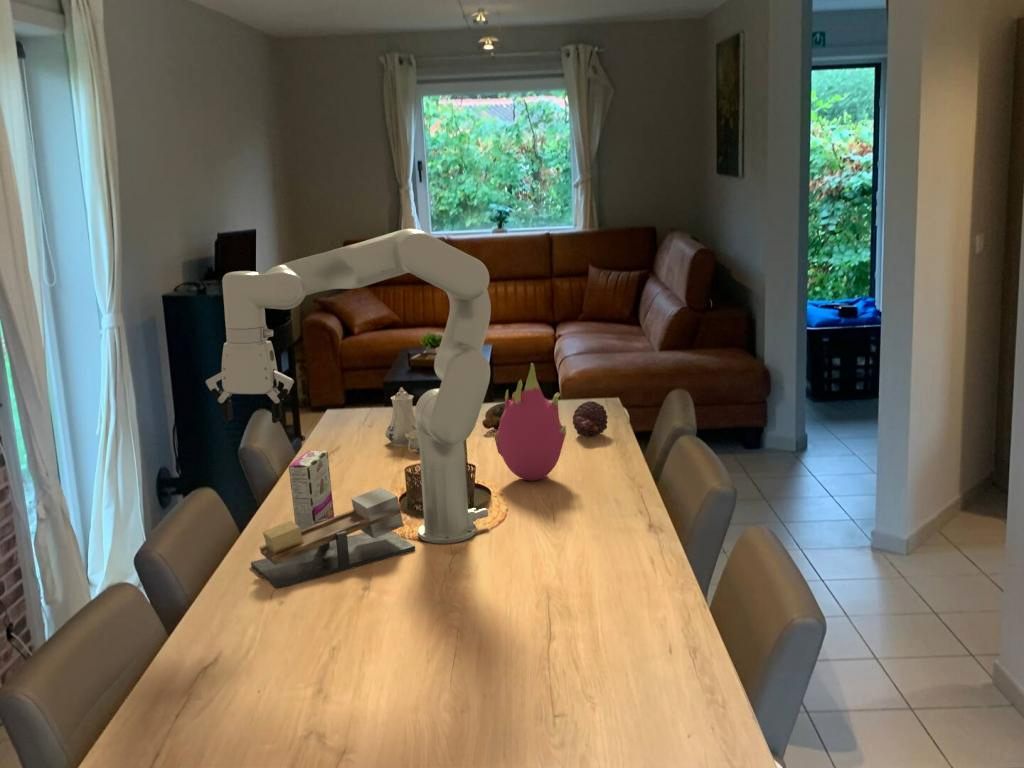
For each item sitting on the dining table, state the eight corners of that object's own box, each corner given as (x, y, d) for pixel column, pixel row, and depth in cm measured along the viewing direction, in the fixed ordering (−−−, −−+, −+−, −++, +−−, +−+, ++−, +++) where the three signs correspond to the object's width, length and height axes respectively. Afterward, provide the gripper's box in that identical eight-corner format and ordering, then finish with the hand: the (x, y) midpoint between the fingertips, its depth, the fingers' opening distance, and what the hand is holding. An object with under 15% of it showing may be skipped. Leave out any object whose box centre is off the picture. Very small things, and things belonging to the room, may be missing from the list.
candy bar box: (314, 518, 230) (308, 449, 226) (335, 519, 229) (329, 450, 225) (294, 537, 219) (287, 464, 216) (316, 538, 218) (309, 465, 215)
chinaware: (438, 461, 275) (441, 402, 271) (377, 458, 275) (379, 398, 271) (446, 433, 302) (449, 379, 298) (391, 430, 302) (393, 376, 298)
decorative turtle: (534, 425, 300) (533, 399, 298) (499, 440, 290) (497, 414, 288) (510, 419, 307) (509, 394, 304) (475, 433, 297) (473, 407, 294)
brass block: (295, 538, 203) (290, 520, 202) (304, 545, 200) (299, 527, 199) (267, 550, 200) (262, 531, 199) (275, 556, 197) (271, 538, 196)
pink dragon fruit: (571, 471, 256) (567, 355, 249) (564, 489, 243) (560, 366, 236) (502, 470, 259) (496, 355, 252) (491, 487, 246) (485, 367, 239)
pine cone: (572, 428, 296) (571, 394, 294) (606, 426, 295) (605, 393, 293) (573, 445, 279) (572, 410, 276) (609, 444, 278) (609, 408, 276)
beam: (387, 516, 216) (380, 487, 214) (403, 525, 210) (397, 496, 208) (264, 566, 202) (256, 536, 200) (278, 578, 196) (270, 547, 194)
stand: (384, 531, 220) (382, 501, 219) (415, 550, 209) (413, 518, 207) (251, 566, 204) (247, 534, 203) (276, 589, 193) (273, 555, 191)
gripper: (295, 332, 199) (301, 417, 202) (210, 332, 200) (217, 416, 204) (284, 339, 191) (289, 426, 195) (195, 338, 193) (202, 425, 196)
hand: (252, 421), depth 199 cm, fingers open, 9 cm apart
